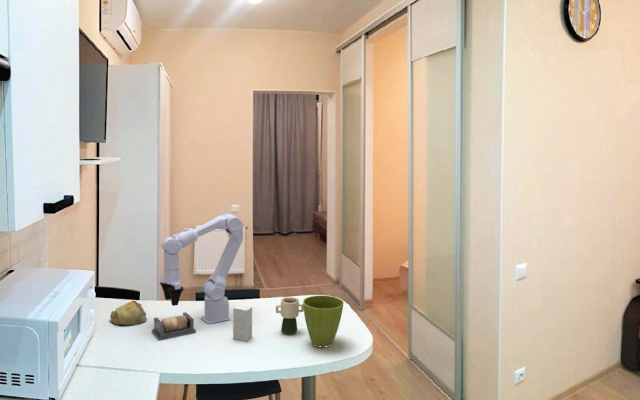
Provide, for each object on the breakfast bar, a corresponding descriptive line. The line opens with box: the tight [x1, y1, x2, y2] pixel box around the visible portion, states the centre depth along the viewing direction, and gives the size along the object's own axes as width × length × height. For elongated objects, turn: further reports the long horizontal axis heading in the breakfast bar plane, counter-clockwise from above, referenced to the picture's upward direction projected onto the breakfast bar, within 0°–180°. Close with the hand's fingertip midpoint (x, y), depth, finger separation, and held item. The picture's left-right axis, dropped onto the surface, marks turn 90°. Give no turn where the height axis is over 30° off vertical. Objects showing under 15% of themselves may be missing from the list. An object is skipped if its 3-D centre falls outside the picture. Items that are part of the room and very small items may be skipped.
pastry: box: [109, 300, 148, 326], centre depth 193 cm, size 14×12×8 cm
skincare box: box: [232, 304, 253, 342], centre depth 179 cm, size 6×4×12 cm
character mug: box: [275, 296, 304, 335], centre depth 186 cm, size 11×7×13 cm, turn 102°
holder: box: [151, 311, 197, 341], centre depth 182 cm, size 14×9×6 cm, turn 125°
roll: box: [161, 314, 187, 333], centre depth 182 cm, size 8×5×5 cm, turn 125°
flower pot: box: [302, 295, 344, 348], centre depth 176 cm, size 15×15×16 cm
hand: (171, 302), depth 187 cm, fingers open, 7 cm apart
